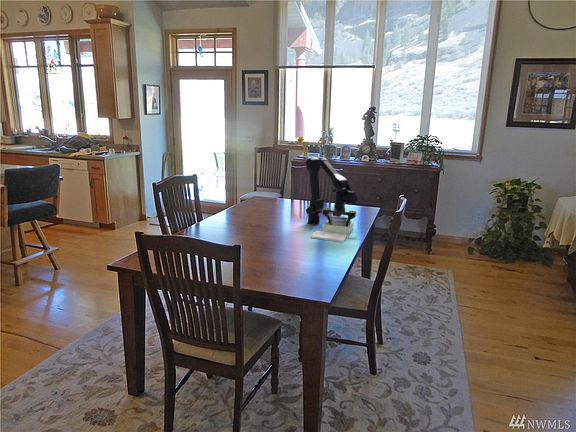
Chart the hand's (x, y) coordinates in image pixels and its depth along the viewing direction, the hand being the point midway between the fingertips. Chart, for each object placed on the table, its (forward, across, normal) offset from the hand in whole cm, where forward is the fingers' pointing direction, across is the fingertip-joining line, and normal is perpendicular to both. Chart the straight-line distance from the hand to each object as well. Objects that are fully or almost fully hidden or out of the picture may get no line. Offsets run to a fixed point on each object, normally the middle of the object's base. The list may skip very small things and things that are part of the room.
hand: (338, 227), depth 235 cm
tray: (+2, -2, -13) cm, 13 cm away
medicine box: (+2, 0, 0) cm, 2 cm away
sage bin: (+2, 0, 0) cm, 2 cm away
